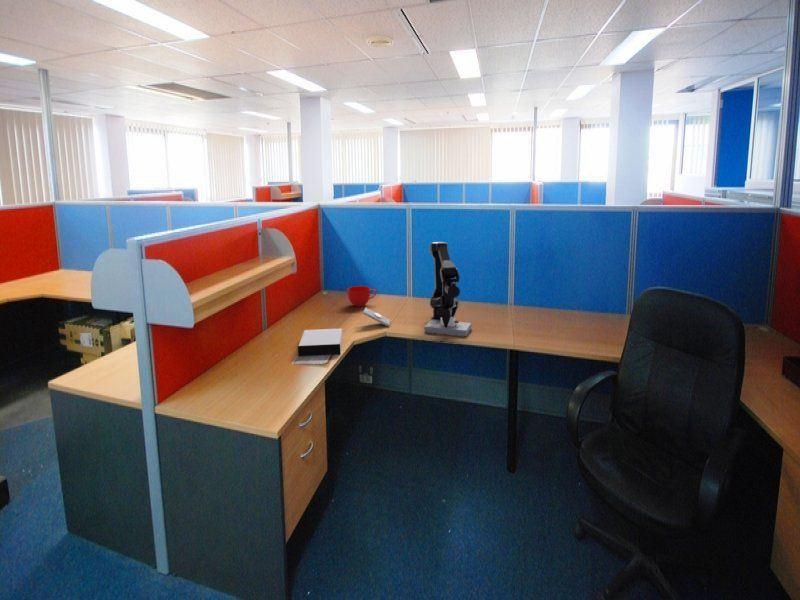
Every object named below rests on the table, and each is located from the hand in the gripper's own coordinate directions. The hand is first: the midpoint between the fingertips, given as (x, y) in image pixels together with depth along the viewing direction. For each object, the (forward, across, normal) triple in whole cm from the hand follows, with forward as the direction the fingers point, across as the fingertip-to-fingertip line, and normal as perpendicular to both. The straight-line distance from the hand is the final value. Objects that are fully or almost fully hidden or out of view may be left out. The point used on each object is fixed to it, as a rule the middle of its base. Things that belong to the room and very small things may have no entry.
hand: (448, 324), depth 229 cm
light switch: (+4, +1, -37) cm, 37 cm away
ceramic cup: (+4, -31, -59) cm, 67 cm away
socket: (+3, 0, 0) cm, 3 cm away
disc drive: (+4, +37, -48) cm, 61 cm away
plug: (+3, 0, 0) cm, 3 cm away
